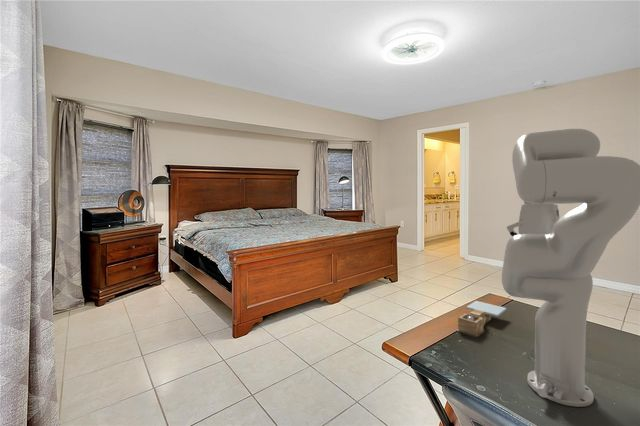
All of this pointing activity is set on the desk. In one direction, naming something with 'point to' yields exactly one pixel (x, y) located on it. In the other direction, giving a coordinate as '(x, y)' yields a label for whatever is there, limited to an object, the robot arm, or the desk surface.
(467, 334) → the pintle
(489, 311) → the plate
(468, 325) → the link
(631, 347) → the desk surface
